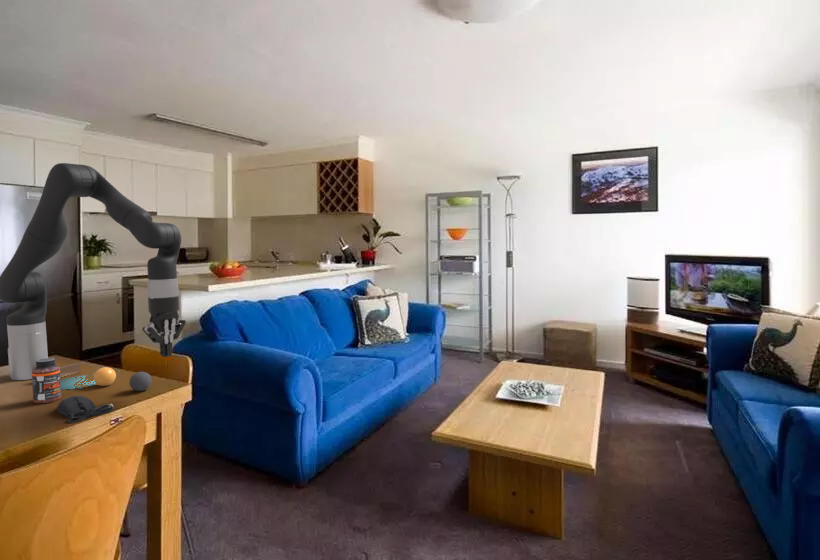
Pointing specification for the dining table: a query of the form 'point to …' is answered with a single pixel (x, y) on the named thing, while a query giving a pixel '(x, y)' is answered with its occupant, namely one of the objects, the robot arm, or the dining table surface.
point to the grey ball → (140, 381)
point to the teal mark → (70, 382)
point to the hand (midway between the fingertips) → (166, 356)
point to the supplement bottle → (46, 381)
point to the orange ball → (104, 376)
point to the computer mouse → (81, 408)
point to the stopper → (69, 369)
